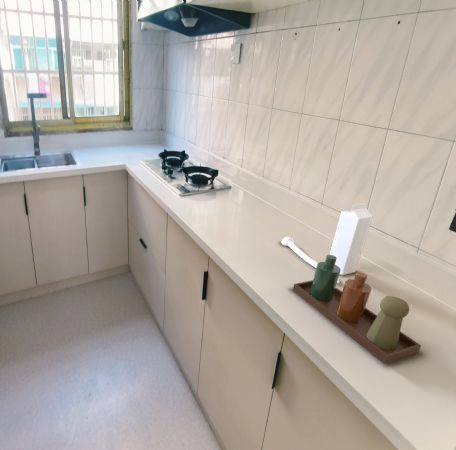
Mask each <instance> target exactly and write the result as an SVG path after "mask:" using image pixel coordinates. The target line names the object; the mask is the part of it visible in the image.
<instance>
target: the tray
mask: <svg viewBox="0 0 456 450" xmlns="http://www.w3.org/2000/svg"><path fill="white" fill-rule="evenodd" d="M312 283H313V279H311V280H307V281H303V282H298V283H293V287H292V291H293V292H294V293H295V294H297V296H299V297H300V298H302V299H303V300H304V301H306V302H307V303H308V304H309V305H310V306H312V307H313V308H314V309H315V310H317V311H318V312H319V313H320V314H322V315H323V316H324V317H326V319H328V320H329V321H330V322H332V323H333V324H334V325H335V326H337V327H338V328H339V329H340V330H342V331H343V332H344V333H345V334H347V335H348V336H349V337H351V339H353V340H354V341H355V342H357V343H358V344H359V345H361V346H362V347H363V349H366V350H367V351H368V352H370V353H371V354H372V355H373V356H374V357H375V358H377V360H379V361H380V362H382V363H383V364H384V365H387V364H390V363H393V362H395V361H396V362H397V361H398V360H401V359H404V358H408V357H410V356H413V355H416V354H418V353H419V352H420V350H421V348H422V345H421V344H420V343H418V342H417V341H416V340H414V339H412V338H411V337H409V336H407V334H406V333H403V332H402V331H401V330H400V334H399V339H398V344H397V348H396V349H394V350H386V349H382V348H380V347H378V346H376V345H375V344H374V343H372V342H371V341H370V340H369V339H368V338H367V336H366V334H367V332H368V331H369V329H370V327H371V326H372V324H373V322H374V320H375V319H376V317H377V315H378V314H376V313H374V312H373V311H371V310H370V309H369V308H367V307H365V310H364V313H363V316H362V319H361V321H360V322H359V323H350V322H347V321H344V320H342V319H341V318H340V317H339V316H337V314H336V310H337V307H338V304H339V301H340V297H341V294H342V291H343V290H341V289H340V288H337V287H336V288H335V291H334V295H333V298H332V300H331V301H328V302H324V301H320V300H317V299H315V298H314V297H312V296H311V294H310V290H311V287H312Z"/></svg>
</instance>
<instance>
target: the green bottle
mask: <svg viewBox="0 0 456 450" xmlns="http://www.w3.org/2000/svg"><path fill="white" fill-rule="evenodd" d="M336 259H337V258H336V257H335V256H333V255H330V254H326V257H325V260H324V261H319V262H317V263H318V264H317V267H316V268H315V271H314V276H313V279H312V280H313V283H312V287H311V290H310V294H311V296H312V297H314V298H315V299H317V300H320V301H324V302H328V301H331V300H332V298H333V295H334V291H335V288H337V284H338V283H337V281H338V280H339V278H340V271H341V269H340V268H339V267H338V266H337V265H335V263H336Z"/></svg>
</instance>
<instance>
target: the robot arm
mask: <svg viewBox="0 0 456 450" xmlns="http://www.w3.org/2000/svg"><path fill="white" fill-rule="evenodd" d="M454 211H455V213H454V215H453V217H452V220H451V222H450V225H449V227H448V230H449V231H450V232H454V233H456V208H455V209H454Z"/></svg>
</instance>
